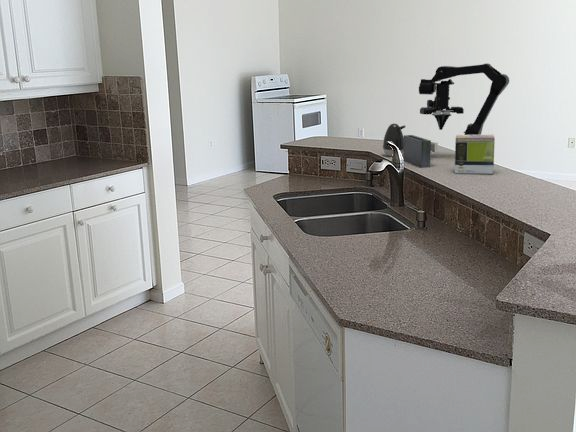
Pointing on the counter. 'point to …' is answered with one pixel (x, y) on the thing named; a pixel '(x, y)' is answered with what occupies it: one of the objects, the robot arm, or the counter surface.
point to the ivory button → (434, 146)
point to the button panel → (417, 150)
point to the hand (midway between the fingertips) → (440, 129)
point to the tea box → (474, 154)
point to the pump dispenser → (393, 138)
